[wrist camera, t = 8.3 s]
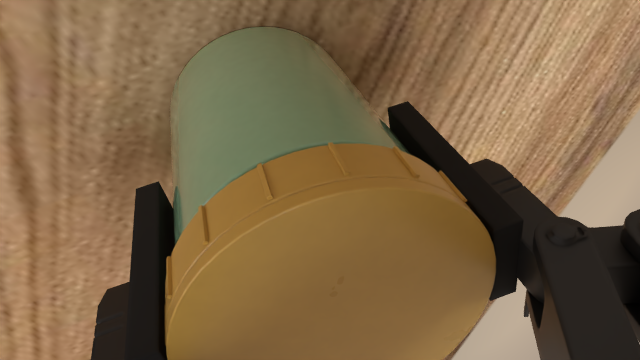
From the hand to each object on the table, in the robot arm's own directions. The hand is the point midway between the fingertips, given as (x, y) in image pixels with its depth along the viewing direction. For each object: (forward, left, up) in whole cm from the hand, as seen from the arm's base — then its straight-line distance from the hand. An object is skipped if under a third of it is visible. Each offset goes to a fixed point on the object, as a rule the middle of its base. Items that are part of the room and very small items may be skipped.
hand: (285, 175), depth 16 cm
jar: (0, 0, -5) cm, 5 cm away
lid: (0, 0, +6) cm, 6 cm away
